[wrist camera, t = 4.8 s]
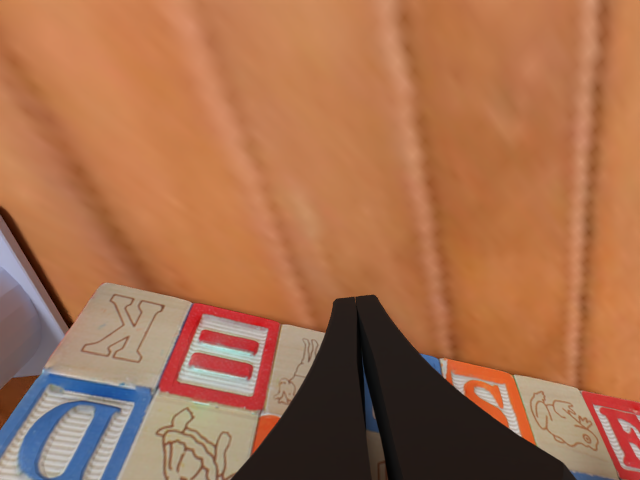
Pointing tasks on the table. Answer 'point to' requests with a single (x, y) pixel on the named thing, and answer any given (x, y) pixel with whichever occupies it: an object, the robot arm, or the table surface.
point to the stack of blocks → (246, 398)
